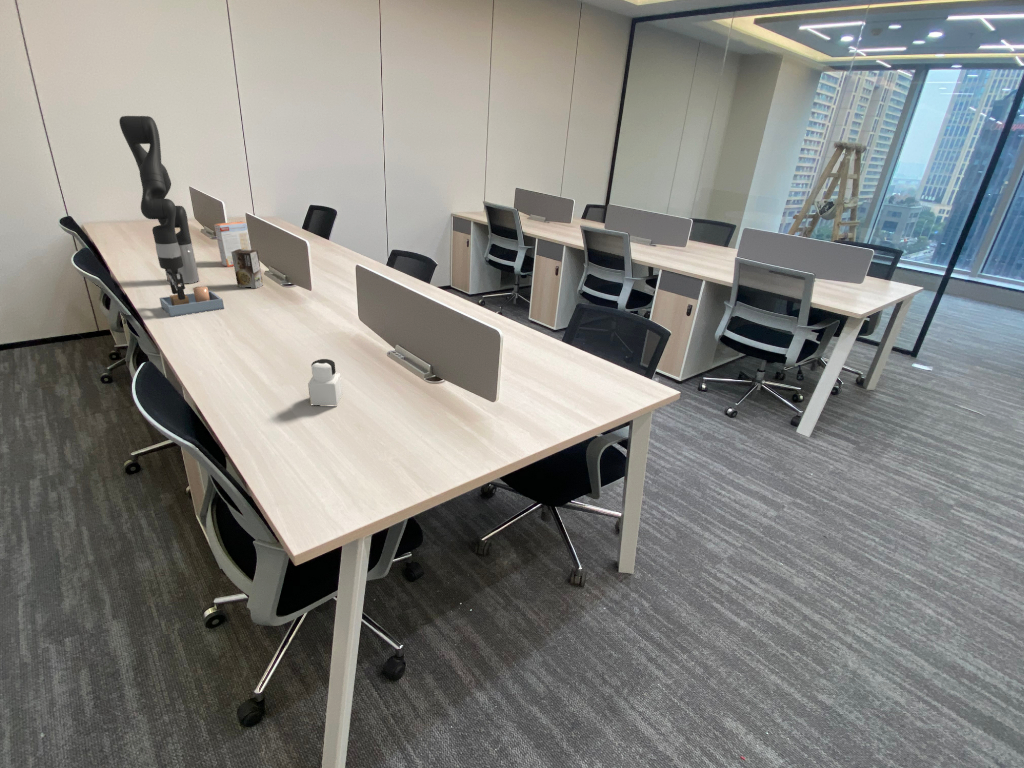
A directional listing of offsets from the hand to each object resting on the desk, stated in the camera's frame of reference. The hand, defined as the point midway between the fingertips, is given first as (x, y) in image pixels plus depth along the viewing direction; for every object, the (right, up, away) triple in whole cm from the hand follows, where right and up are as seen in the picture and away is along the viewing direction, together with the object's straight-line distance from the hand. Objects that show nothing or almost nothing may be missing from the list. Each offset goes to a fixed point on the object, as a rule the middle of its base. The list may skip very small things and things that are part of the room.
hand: (178, 296), depth 198 cm
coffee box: (+9, +11, +36) cm, 39 cm away
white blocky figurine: (+78, -39, -55) cm, 103 cm away
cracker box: (-14, +29, +69) cm, 76 cm away
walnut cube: (0, -4, +2) cm, 5 cm away
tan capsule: (+5, -2, +7) cm, 9 cm away
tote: (+3, -4, +5) cm, 7 cm away
